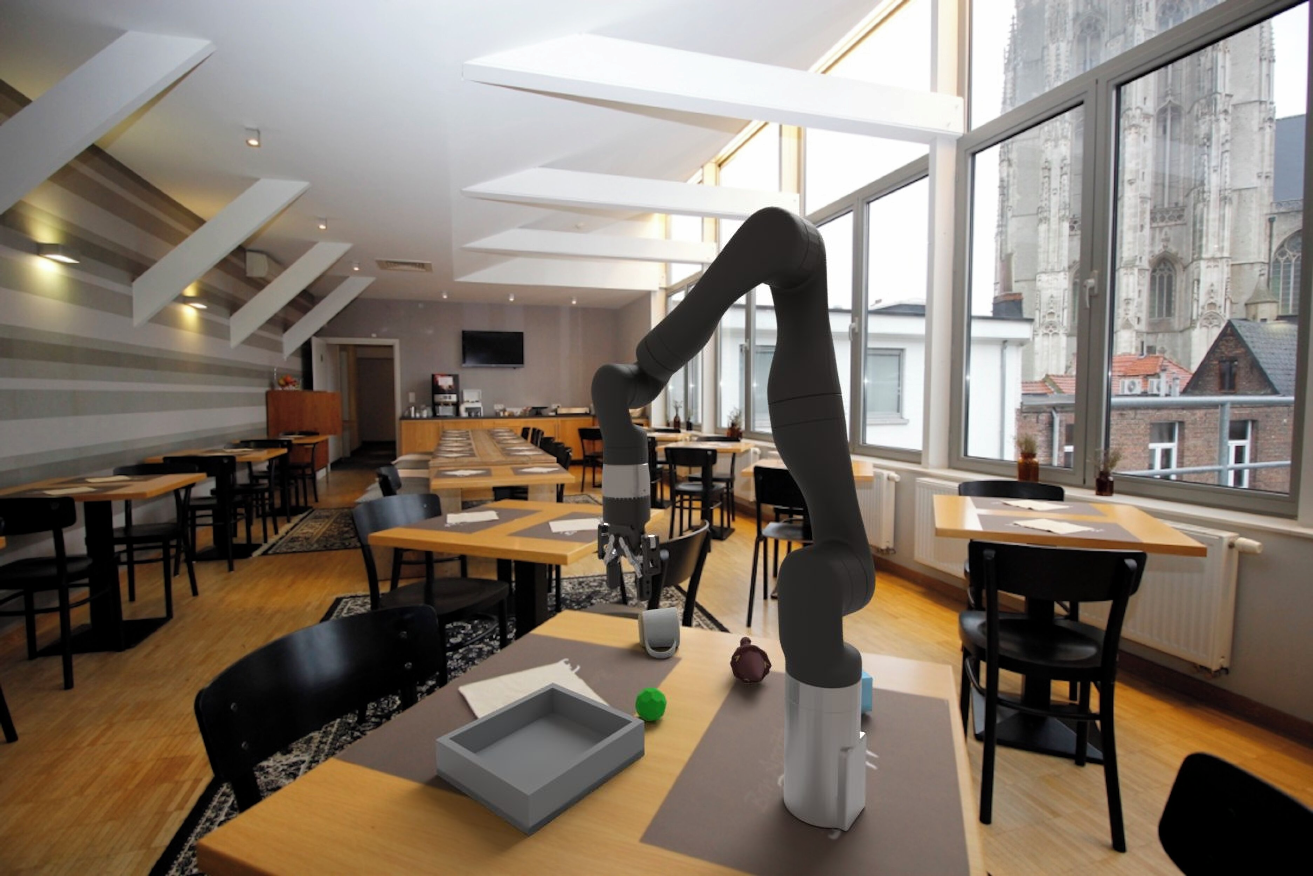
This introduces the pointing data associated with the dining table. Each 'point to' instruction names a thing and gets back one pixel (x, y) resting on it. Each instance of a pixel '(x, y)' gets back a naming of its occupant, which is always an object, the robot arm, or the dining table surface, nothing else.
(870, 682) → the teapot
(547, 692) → the crate
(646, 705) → the polyhedron
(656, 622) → the ceramic mug
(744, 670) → the icecream
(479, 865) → the dining table surface
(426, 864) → the dining table surface
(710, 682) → the dining table surface
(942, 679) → the dining table surface
